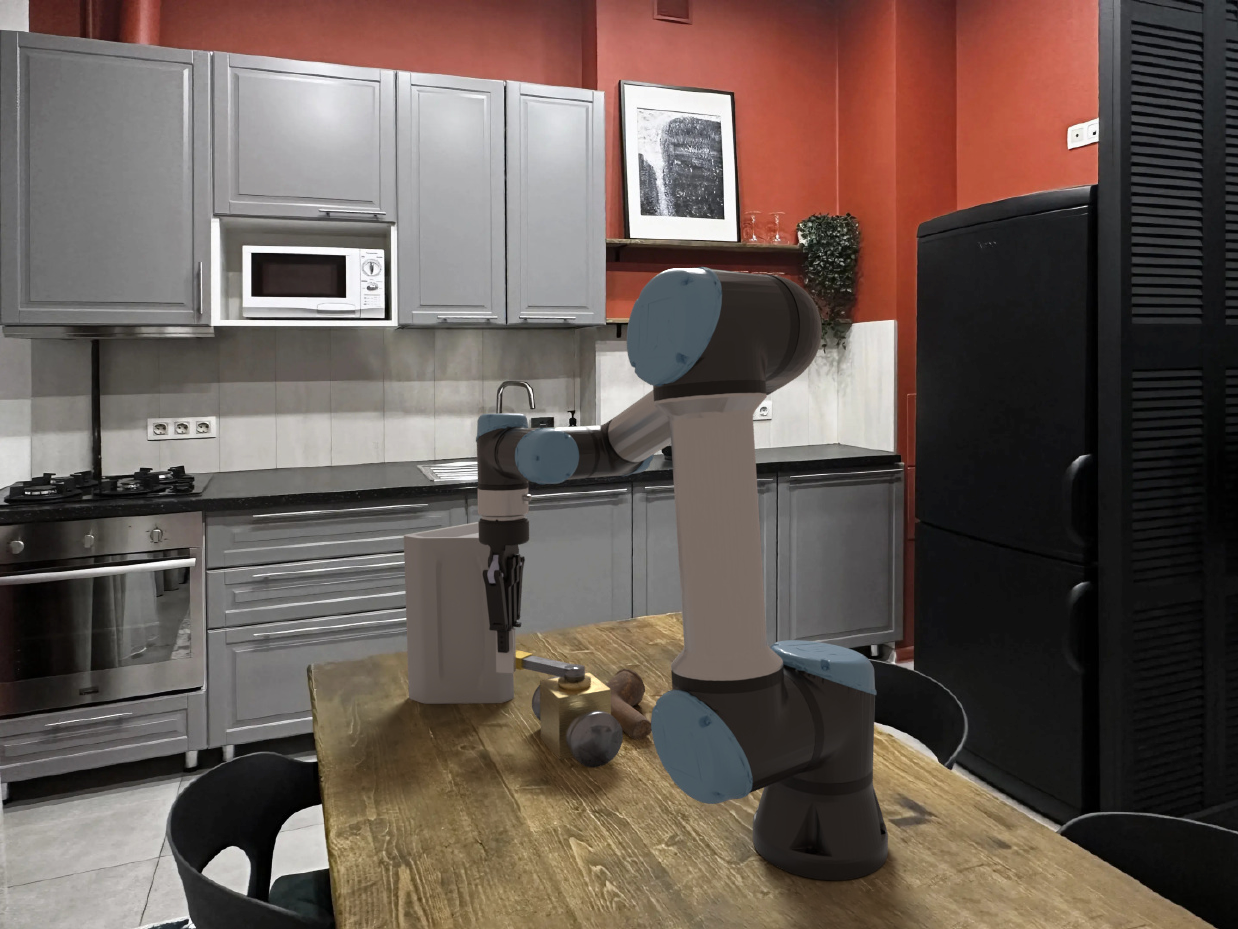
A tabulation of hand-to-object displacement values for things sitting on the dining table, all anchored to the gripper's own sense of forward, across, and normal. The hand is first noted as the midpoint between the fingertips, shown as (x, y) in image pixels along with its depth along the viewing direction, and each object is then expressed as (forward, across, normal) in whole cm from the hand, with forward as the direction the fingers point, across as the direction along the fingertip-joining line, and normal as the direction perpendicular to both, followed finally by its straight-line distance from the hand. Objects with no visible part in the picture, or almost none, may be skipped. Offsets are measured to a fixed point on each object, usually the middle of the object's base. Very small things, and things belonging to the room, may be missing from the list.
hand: (506, 671), depth 131 cm
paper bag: (+10, +17, +11) cm, 22 cm away
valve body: (+10, -2, -11) cm, 15 cm away
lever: (0, 0, -5) cm, 5 cm away
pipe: (+10, +9, -17) cm, 22 cm away
